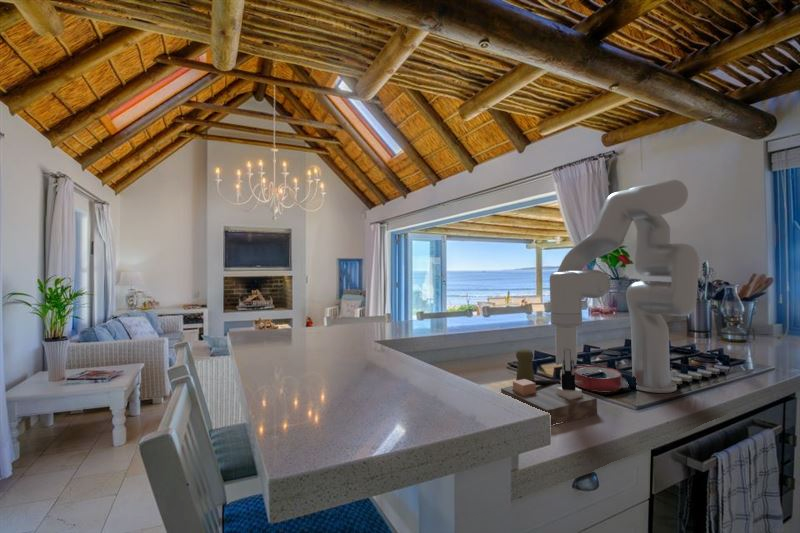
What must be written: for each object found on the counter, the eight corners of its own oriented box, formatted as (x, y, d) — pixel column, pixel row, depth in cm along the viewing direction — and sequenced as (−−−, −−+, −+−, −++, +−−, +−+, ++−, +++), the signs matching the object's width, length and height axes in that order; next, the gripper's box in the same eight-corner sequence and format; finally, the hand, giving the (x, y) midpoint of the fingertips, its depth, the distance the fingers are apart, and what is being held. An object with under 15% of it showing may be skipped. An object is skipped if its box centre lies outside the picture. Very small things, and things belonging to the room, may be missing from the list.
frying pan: (561, 412, 102) (561, 388, 102) (522, 398, 113) (522, 376, 113) (631, 387, 119) (630, 366, 118) (590, 376, 130) (590, 357, 130)
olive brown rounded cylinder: (537, 387, 121) (535, 352, 121) (516, 387, 123) (515, 352, 122) (534, 381, 127) (533, 347, 127) (515, 381, 129) (513, 347, 128)
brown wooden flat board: (546, 392, 117) (545, 379, 117) (597, 413, 100) (596, 398, 100) (501, 402, 111) (500, 388, 111) (548, 426, 94) (547, 410, 94)
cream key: (569, 395, 106) (569, 385, 106) (582, 400, 102) (581, 389, 102) (557, 398, 104) (557, 387, 104) (569, 403, 100) (569, 392, 100)
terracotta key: (525, 389, 110) (525, 378, 110) (535, 393, 106) (535, 383, 106) (513, 391, 109) (512, 381, 109) (523, 396, 105) (522, 385, 105)
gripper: (551, 314, 111) (553, 379, 111) (549, 323, 97) (552, 397, 97) (581, 315, 108) (583, 381, 108) (583, 324, 94) (585, 400, 95)
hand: (568, 388), depth 103 cm, fingers closed
